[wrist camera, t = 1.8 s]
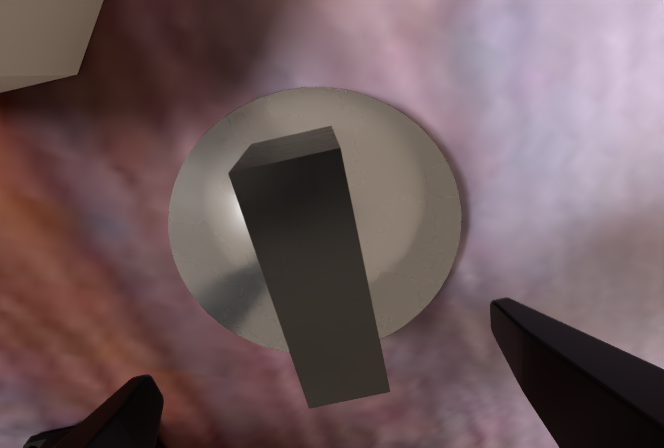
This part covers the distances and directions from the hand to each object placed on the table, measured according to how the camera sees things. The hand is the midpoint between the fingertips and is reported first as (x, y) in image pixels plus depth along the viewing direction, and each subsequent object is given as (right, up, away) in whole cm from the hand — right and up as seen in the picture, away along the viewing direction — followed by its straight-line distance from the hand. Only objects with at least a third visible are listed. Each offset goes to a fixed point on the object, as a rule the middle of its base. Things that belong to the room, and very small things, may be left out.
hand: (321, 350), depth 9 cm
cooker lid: (0, +3, +6) cm, 7 cm away
